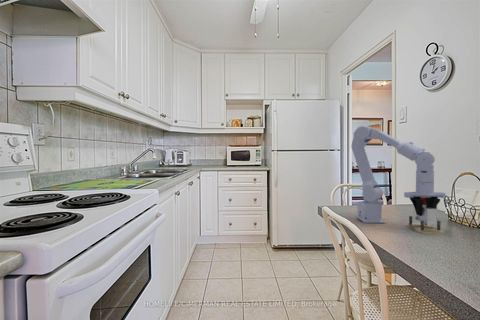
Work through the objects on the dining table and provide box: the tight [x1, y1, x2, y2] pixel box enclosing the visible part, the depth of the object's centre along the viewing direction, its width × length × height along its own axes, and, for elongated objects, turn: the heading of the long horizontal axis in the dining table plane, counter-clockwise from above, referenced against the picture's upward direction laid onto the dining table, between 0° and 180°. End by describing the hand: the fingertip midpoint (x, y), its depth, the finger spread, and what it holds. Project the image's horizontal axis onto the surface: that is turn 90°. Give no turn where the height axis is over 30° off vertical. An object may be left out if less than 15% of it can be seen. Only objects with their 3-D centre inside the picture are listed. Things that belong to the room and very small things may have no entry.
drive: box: [413, 205, 438, 225], centre depth 94 cm, size 8×4×6 cm, turn 175°
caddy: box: [405, 215, 445, 235], centre depth 94 cm, size 10×8×4 cm
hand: (424, 215), depth 94 cm, fingers closed on drive, 3 cm apart
